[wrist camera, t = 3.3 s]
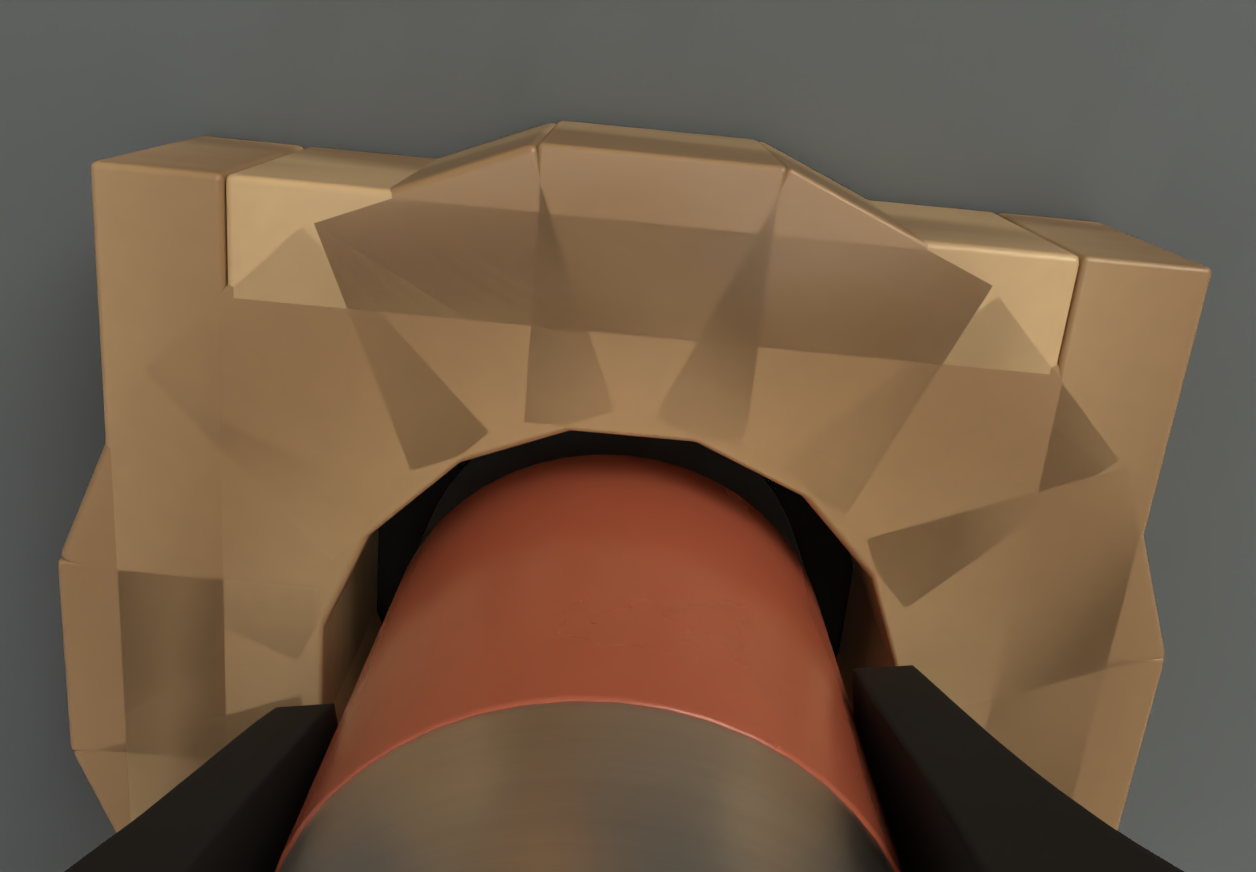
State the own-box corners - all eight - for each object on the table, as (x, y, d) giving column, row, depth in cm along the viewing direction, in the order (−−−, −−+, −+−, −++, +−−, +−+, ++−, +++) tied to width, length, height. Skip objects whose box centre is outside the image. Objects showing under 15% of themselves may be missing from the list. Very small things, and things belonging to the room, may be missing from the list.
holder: (180, 910, 18) (93, 1076, 15) (148, 80, 14) (21, 92, 11) (970, 975, 18) (1030, 1150, 15) (1159, 178, 14) (1290, 215, 11)
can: (411, 735, 17) (176, 1457, 8) (424, 385, 15) (144, 841, 7) (775, 766, 17) (913, 1512, 8) (830, 422, 15) (1071, 920, 7)
